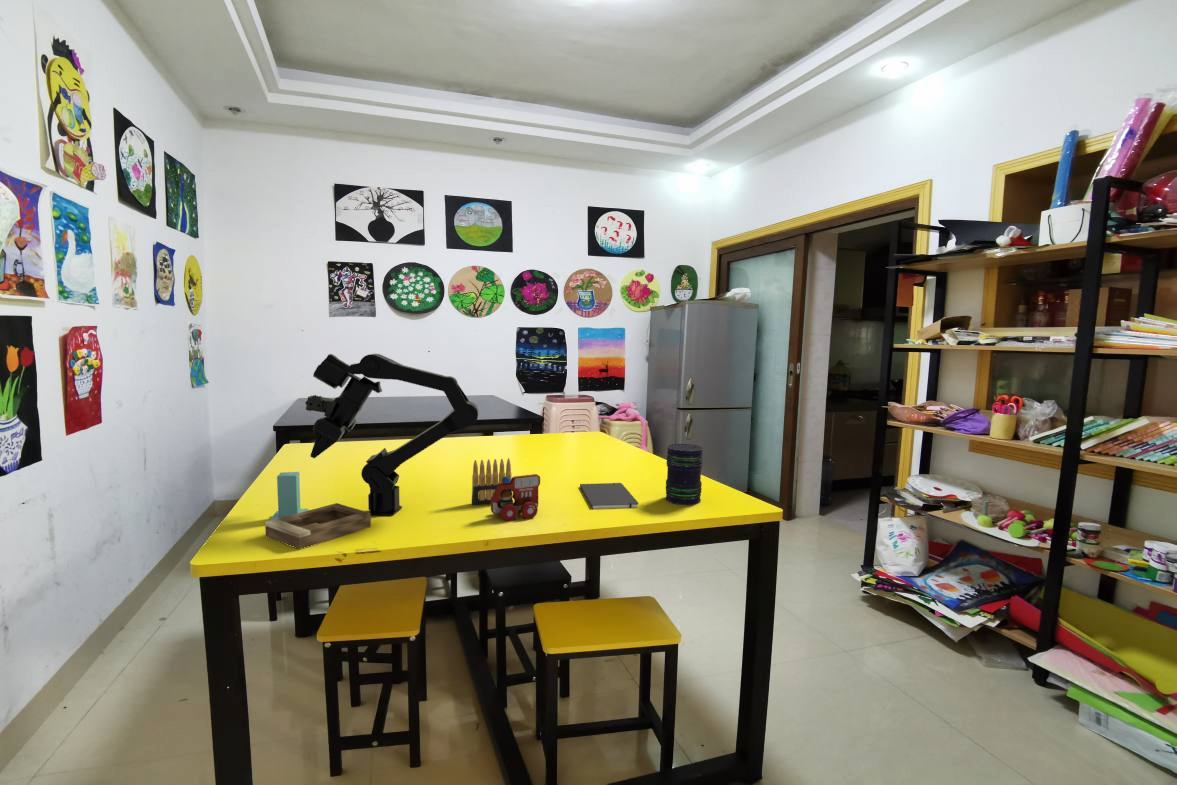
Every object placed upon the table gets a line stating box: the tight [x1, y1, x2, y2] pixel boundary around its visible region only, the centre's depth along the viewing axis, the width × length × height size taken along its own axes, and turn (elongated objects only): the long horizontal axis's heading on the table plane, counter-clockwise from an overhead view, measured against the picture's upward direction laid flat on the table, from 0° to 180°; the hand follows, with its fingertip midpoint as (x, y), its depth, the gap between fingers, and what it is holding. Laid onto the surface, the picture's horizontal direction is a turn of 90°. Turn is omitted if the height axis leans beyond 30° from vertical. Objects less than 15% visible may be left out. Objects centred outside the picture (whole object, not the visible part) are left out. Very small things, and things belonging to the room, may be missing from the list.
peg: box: [269, 471, 310, 521], centre depth 133 cm, size 7×7×11 cm
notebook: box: [579, 482, 639, 510], centre depth 157 cm, size 13×2×21 cm
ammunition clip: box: [471, 458, 513, 506], centre depth 148 cm, size 11×2×12 cm, turn 109°
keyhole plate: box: [264, 502, 372, 550], centre depth 125 cm, size 17×13×3 cm
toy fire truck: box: [490, 473, 541, 522], centre depth 138 cm, size 7×12×10 cm, turn 113°
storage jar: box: [665, 443, 704, 506], centre depth 154 cm, size 10×10×15 cm
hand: (317, 453), depth 135 cm, fingers open, 9 cm apart
